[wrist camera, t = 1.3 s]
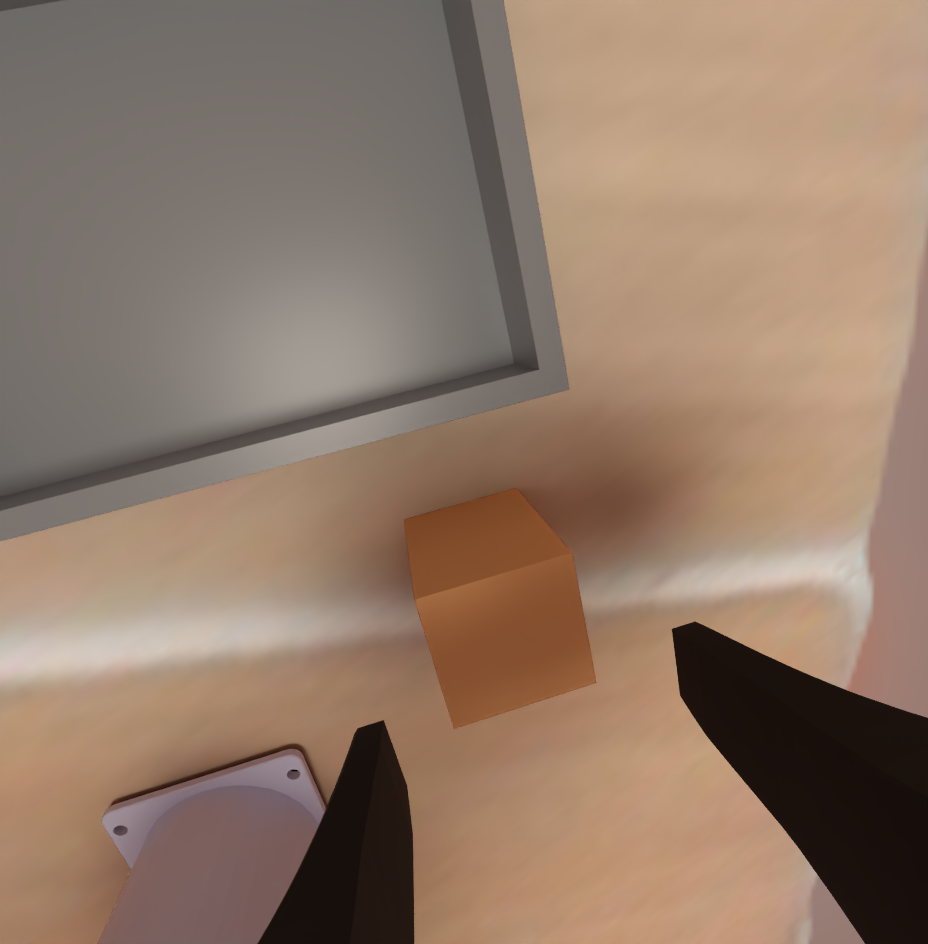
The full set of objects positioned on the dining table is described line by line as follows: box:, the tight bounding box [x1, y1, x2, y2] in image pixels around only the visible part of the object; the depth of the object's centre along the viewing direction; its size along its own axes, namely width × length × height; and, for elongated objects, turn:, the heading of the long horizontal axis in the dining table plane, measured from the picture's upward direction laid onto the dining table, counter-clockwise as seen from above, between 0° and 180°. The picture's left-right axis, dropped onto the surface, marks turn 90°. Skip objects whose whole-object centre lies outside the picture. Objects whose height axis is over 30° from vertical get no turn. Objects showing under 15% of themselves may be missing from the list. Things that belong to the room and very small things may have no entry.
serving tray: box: [0, 0, 569, 541], centre depth 14 cm, size 14×20×4 cm
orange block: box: [404, 488, 596, 729], centre depth 17 cm, size 4×4×6 cm
